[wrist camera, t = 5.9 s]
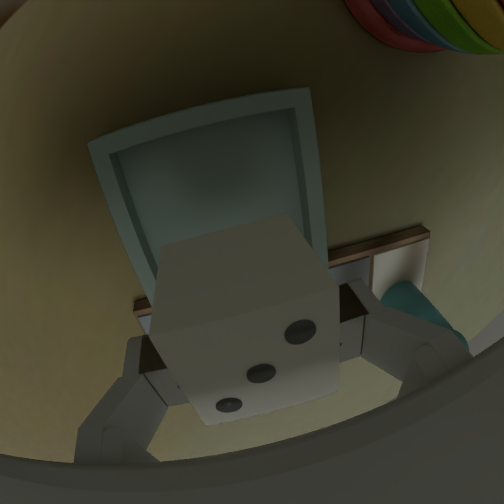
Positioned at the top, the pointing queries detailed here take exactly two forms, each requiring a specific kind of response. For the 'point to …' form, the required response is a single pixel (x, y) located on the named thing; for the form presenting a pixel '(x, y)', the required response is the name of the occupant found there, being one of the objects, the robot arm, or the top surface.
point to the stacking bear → (434, 24)
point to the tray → (212, 173)
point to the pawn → (416, 305)
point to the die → (247, 320)
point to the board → (361, 265)
